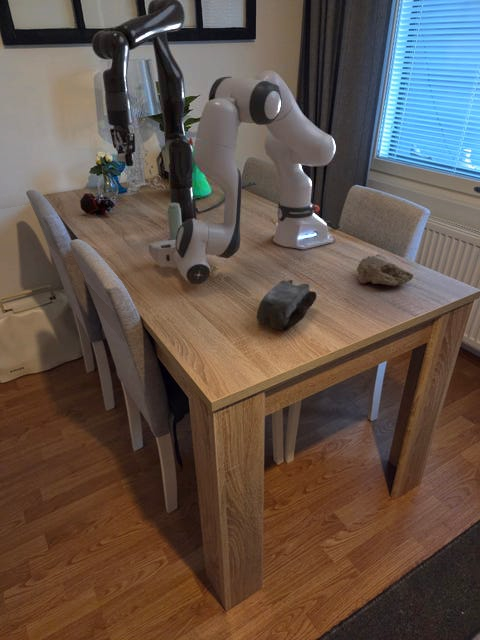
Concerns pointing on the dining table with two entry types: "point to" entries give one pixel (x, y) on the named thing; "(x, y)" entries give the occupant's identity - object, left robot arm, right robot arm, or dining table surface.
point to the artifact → (381, 271)
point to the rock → (285, 304)
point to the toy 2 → (198, 180)
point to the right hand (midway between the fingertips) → (175, 238)
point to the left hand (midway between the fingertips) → (126, 164)
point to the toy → (97, 204)
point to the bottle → (174, 219)
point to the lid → (122, 157)
